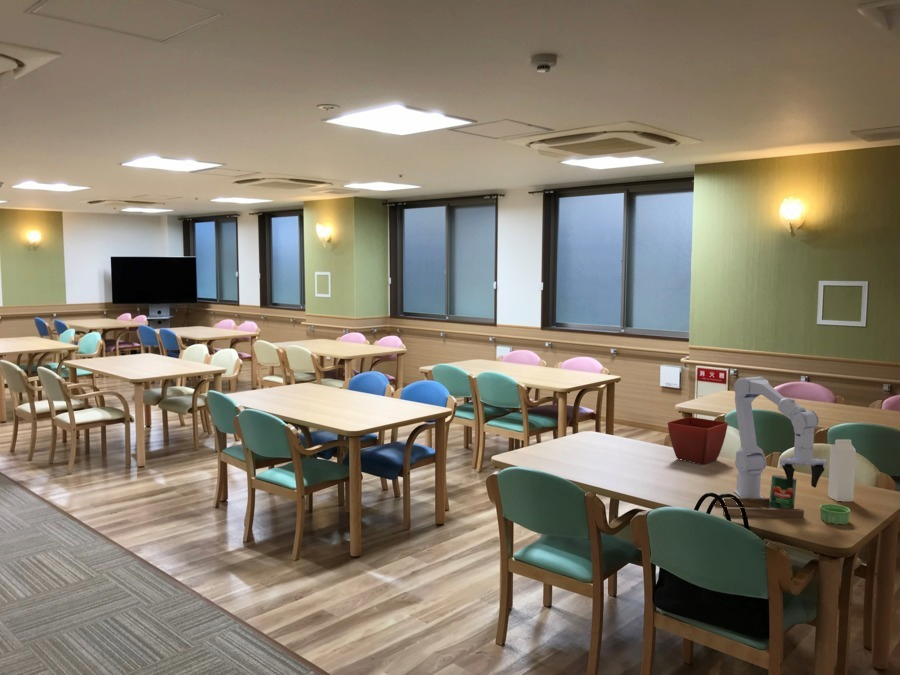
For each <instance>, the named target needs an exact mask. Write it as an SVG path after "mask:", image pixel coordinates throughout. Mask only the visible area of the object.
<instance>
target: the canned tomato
mask: <svg viewBox="0 0 900 675" xmlns="http://www.w3.org/2000/svg"><path fill="white" fill-rule="evenodd" d="M796 488H797V478H794V477H793V487H790V486H788V481H787V477H786V475H785V476H783V475H778V474H777V475H776V474H772V475H771V482H770V493H769V498H770V501H769V507H768V508H785V509H795V502H796V500H795V499H796Z"/></svg>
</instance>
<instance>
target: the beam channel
mask: <svg viewBox="0 0 900 675" xmlns="http://www.w3.org/2000/svg"><path fill="white" fill-rule="evenodd" d="M731 498H732V497H727V498H724V501H725V504H726V505H727V506H726V507H727V510H728V513H729V515H730V516H729V517H743V516H742V515H741V511H740V508H741V507H740V506H738V505H737V504H736V502H735V501H734V500H732V499H731ZM737 498H738V499H739V500H740V501H741V502H742V503H743V505H744V506H743V507H744V508H745V511H746V514H747V516H746V517H756V518H757V517H760V518H761V517H763V518H765V517H766V518H769V517H770V518H800V517H805V516H804V515H805V510H804V509H803V508H794V509H785V508H770V507H763V506H769V501H770V497H769V498H768V497H767V498H766V497H764V498H753V497H749V498H741V497H737ZM714 506H718V507H719V506H721V505H720V502H719V501H717V502H716V504H715V505H714ZM722 511H723V512H722V515H723V516H724V517H726V516H725V514H724V510H723V509H722Z"/></svg>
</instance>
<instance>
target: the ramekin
mask: <svg viewBox="0 0 900 675" xmlns="http://www.w3.org/2000/svg"><path fill="white" fill-rule="evenodd" d="M819 509H820V519H821V520H822V521H823V520H824V521H823V522H825V521H826V522H825V523H827V522H829V523H828V524H831V523H833V524H832V525H838V524H843V525H846V524H848V523H849V521H850V514H851V509H850V508H849V507H848V506H844V505H841V504H834V503H823V504H820V505H819Z"/></svg>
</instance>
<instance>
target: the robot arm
mask: <svg viewBox="0 0 900 675" xmlns="http://www.w3.org/2000/svg"><path fill="white" fill-rule="evenodd" d="M733 388H734V403H735V409H736V410H735V411H736V419H737V425H738V426H737V427H738V433H739V440H740V447H739V448H738V449H737V450H736V452H735V468H736V469H737V472H738V473H737V475H736V489H733V492H734V493H735V494H737V495H738V497H739V498H749V497H753V498H765V497H763V496H762V494H761V483H762V482H761V481H762V474H763V472H764V470H765V469H766V468H767V459H766V457H765V455H764V450H763V449H762V448H761V447H760V446H758V445H757V444H758V443H757V436H756V428H755V423H754V422H755V421H754V420H755V419H754V415H753V406H752V403H753V402H754V400H755V399H756V398H758V397H759V396H763V397H764V398H766V399H767V400H769V401H771V402H772V403H773V404H775V405H776V406H777V409H778V411H779V412H780V413H781V414H782V415H784V416H785V417H786V418H788V419H789V420H790V421H791V425H792V426H793V432H794V446H793V447H794V448H793V457H786V458H784V457H783V458H779V465H781V467H782V469H783V471H784V473H785V477H787V481H788V486H790V487H793V478H794V473H795V470H796V469H795V468H794V466H810V469H811V482H810V485H811V487H812V488H817V485H818V481H819V479H820V478H821V476H822V475H823V473H824V472H825V467H827V463H828V461H827V460H826V459H820V458H814V444H815V440H814V438H815V428H816V427H817V426H819V425H818V424H819V423H820V422H819V416H818V414H817V413H816V412H815V411H814V410H809V409H808V410H807V409H806V407H804V406H802V405H800V404H799V403H798V402H796V399H794V398H790V397H784V396H783V395H782V394H781V393H780V392H779V391H777V390H776V389H775V388H774V387H773V386H772V385H771V384H770V382H769V380H767V379H766V378H764V377H763V376H760V375H758V376H752V377H751V376H750V377H739V378H737V380H736V381H735V382H734V383H733Z"/></svg>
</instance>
